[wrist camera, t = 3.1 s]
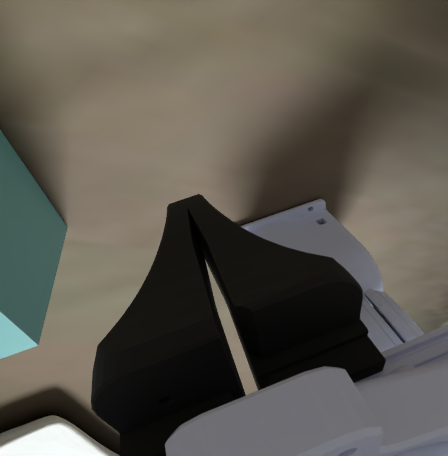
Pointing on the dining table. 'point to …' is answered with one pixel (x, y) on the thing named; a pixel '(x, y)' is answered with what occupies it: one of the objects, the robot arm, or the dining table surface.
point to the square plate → (50, 440)
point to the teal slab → (25, 253)
